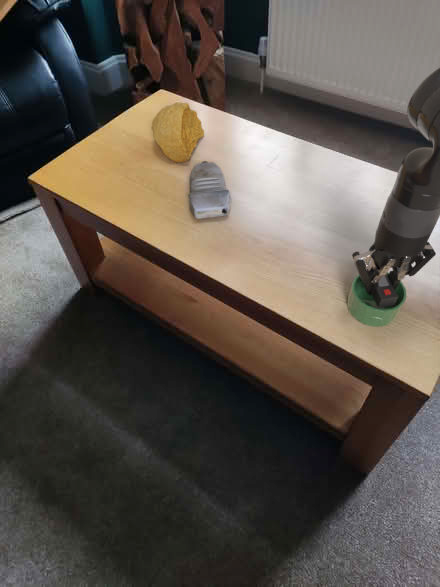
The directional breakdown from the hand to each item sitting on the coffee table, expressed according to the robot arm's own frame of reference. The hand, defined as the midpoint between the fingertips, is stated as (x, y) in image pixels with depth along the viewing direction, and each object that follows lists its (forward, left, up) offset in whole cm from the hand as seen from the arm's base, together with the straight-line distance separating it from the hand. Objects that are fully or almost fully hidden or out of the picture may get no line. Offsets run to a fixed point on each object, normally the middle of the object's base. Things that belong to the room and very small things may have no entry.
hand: (379, 289), depth 77 cm
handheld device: (+26, -39, -5) cm, 47 cm away
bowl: (0, 0, -5) cm, 5 cm away
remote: (0, 0, 0) cm, 0 cm away
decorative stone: (+31, -60, -5) cm, 68 cm away
